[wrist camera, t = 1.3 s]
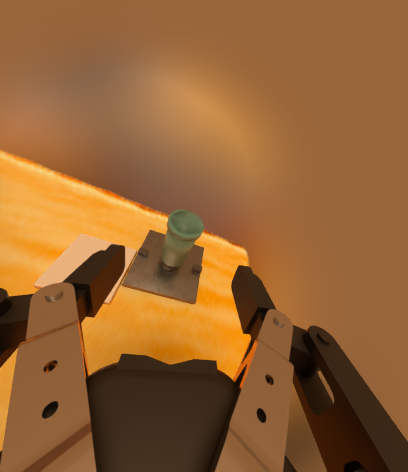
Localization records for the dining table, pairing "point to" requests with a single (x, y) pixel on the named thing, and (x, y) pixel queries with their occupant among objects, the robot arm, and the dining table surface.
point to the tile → (75, 258)
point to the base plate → (165, 271)
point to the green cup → (180, 236)
